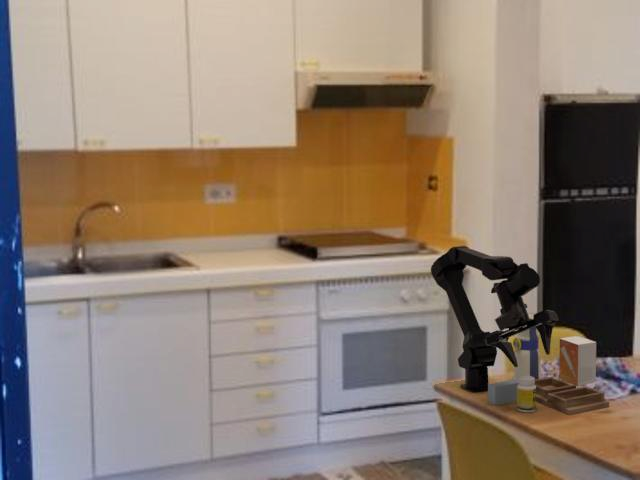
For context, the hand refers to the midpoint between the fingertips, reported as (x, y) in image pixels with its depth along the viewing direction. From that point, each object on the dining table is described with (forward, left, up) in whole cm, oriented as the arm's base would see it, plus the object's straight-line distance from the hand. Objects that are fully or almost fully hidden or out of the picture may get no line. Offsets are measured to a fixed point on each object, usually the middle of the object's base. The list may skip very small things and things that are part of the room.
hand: (532, 360), depth 223 cm
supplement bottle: (-2, 0, -13) cm, 14 cm away
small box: (-12, +25, -13) cm, 31 cm away
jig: (-4, +13, -13) cm, 19 cm away
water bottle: (-21, +15, -13) cm, 29 cm away
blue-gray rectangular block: (-11, 0, -13) cm, 17 cm away
